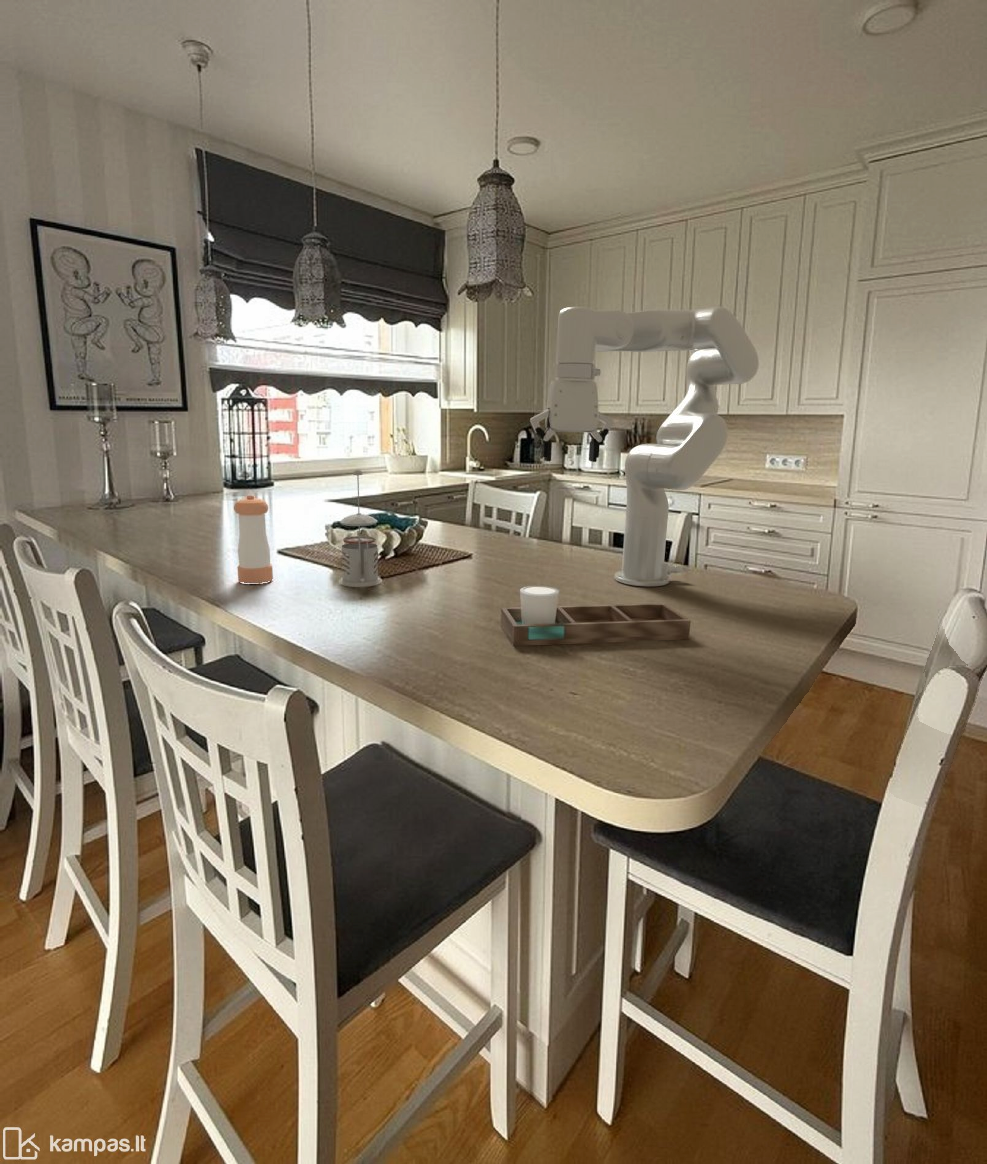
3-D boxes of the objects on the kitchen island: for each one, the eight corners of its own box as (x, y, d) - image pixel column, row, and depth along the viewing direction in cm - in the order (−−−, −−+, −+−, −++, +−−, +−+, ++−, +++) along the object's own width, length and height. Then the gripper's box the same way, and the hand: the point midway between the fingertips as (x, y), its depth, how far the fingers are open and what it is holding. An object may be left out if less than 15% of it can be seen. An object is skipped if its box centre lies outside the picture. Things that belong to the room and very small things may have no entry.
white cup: (561, 625, 120) (563, 587, 118) (552, 636, 114) (554, 597, 112) (524, 620, 122) (526, 583, 120) (513, 631, 116) (514, 592, 114)
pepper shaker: (277, 582, 149) (272, 496, 144) (243, 586, 145) (237, 497, 140) (267, 575, 154) (262, 492, 150) (234, 579, 150) (228, 493, 146)
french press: (378, 575, 158) (376, 467, 151) (387, 587, 147) (385, 472, 141) (336, 577, 154) (332, 467, 148) (341, 590, 144) (337, 472, 138)
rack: (662, 620, 128) (664, 603, 127) (690, 640, 117) (692, 621, 116) (500, 625, 122) (501, 607, 121) (513, 646, 111) (514, 627, 111)
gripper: (609, 376, 139) (604, 460, 143) (528, 373, 136) (525, 459, 140) (622, 374, 132) (616, 463, 136) (536, 371, 129) (533, 462, 133)
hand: (570, 461), depth 138 cm, fingers open, 9 cm apart
